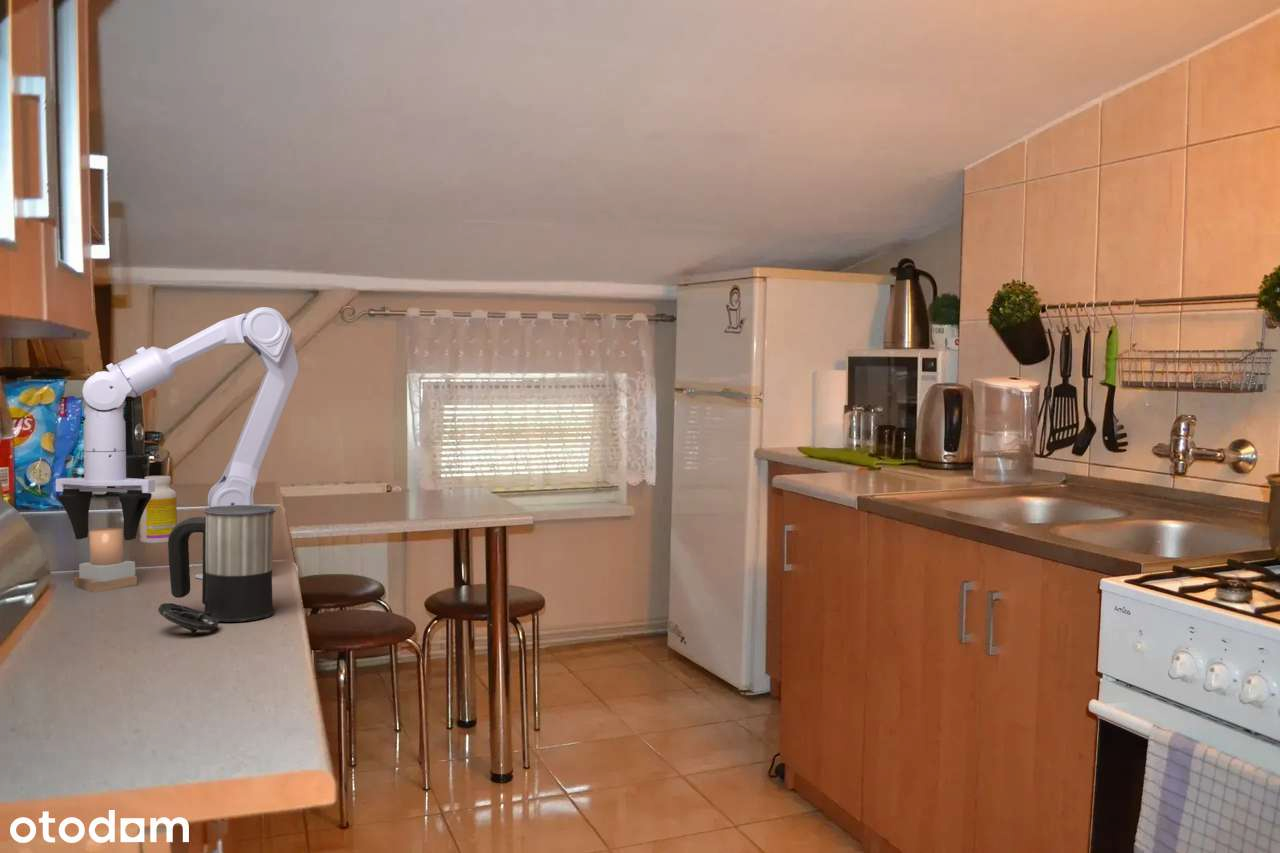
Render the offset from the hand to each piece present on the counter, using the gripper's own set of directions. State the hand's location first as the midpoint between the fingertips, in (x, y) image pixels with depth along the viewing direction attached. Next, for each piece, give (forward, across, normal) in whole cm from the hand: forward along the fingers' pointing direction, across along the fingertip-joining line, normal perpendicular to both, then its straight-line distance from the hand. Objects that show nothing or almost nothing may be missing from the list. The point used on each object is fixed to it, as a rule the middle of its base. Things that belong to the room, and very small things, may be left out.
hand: (106, 538), depth 158 cm
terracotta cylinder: (+4, 0, 0) cm, 4 cm away
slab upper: (+6, 0, 0) cm, 6 cm away
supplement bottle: (+8, +14, -43) cm, 46 cm away
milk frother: (+8, -27, +21) cm, 35 cm away
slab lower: (+8, 0, 0) cm, 8 cm away
